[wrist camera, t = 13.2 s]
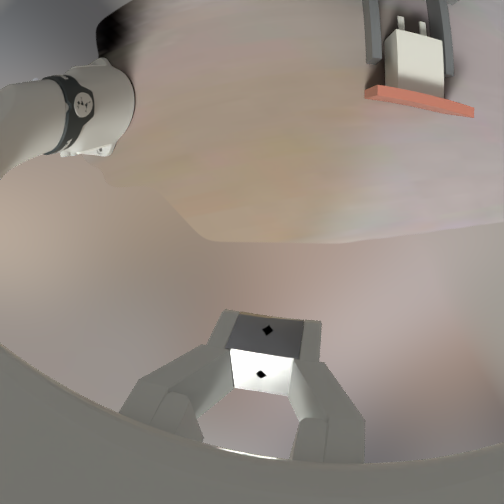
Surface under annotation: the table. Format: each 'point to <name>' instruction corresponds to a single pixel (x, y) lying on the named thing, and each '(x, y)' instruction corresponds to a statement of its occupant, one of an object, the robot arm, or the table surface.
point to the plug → (415, 73)
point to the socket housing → (436, 22)
